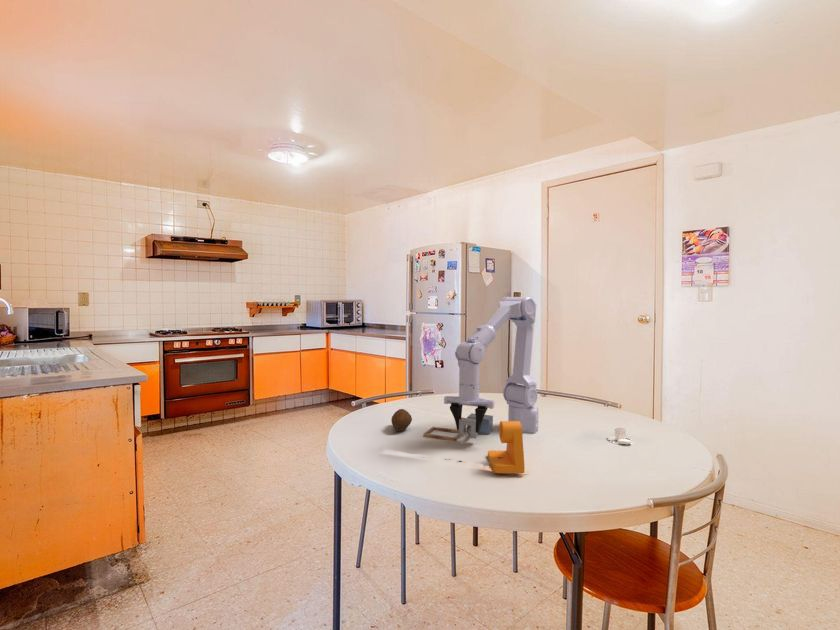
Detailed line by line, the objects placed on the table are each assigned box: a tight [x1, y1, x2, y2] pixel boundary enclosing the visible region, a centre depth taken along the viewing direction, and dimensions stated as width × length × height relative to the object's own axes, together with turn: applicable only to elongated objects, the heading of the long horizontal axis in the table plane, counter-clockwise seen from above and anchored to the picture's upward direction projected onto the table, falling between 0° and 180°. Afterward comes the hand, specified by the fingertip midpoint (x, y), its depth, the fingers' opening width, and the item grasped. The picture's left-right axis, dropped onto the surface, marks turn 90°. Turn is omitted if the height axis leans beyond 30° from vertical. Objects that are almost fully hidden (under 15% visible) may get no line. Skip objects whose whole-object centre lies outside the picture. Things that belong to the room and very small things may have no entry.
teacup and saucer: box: [609, 427, 634, 446], centre depth 134 cm, size 9×8×4 cm
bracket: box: [487, 420, 525, 474], centre depth 111 cm, size 11×7×12 cm, turn 1°
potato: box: [391, 408, 413, 432], centre depth 143 cm, size 7×12×7 cm, turn 3°
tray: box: [422, 426, 462, 442], centre depth 134 cm, size 10×8×2 cm
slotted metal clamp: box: [458, 416, 478, 439], centre depth 126 cm, size 5×2×5 cm, turn 67°
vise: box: [466, 412, 494, 435], centre depth 135 cm, size 7×15×6 cm, turn 157°
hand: (468, 430), depth 126 cm, fingers closed on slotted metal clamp, 5 cm apart
